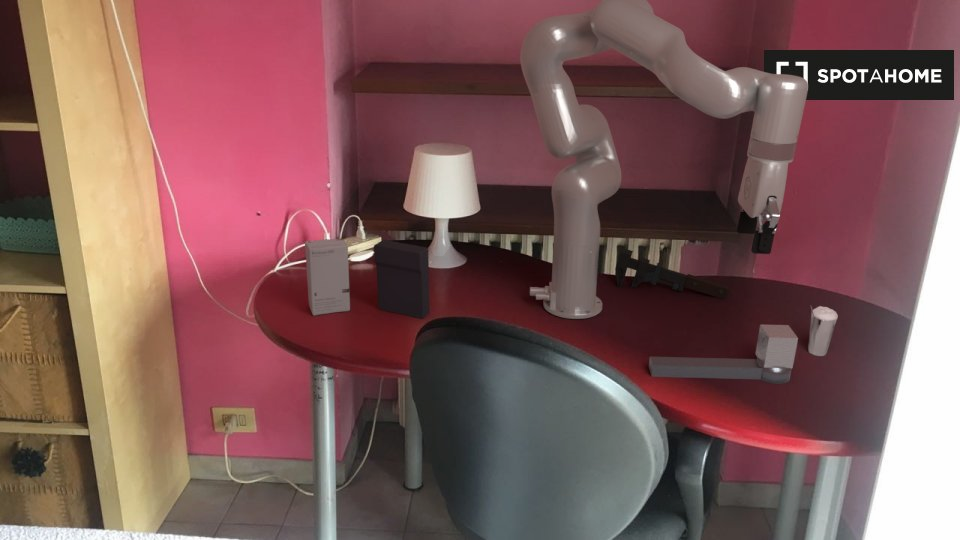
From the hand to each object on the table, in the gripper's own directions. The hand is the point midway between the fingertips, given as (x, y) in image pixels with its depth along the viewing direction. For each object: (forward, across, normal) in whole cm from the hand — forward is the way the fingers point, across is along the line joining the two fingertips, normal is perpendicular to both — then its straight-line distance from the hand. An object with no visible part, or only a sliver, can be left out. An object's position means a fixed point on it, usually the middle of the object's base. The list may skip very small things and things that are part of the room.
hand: (752, 242), depth 136 cm
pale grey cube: (+19, +8, +5) cm, 22 cm away
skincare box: (+26, -14, -81) cm, 86 cm away
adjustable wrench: (+24, -29, -6) cm, 38 cm away
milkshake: (+22, -1, +16) cm, 28 cm away
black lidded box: (+25, -14, -65) cm, 71 cm away
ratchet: (+23, +8, -4) cm, 25 cm away
